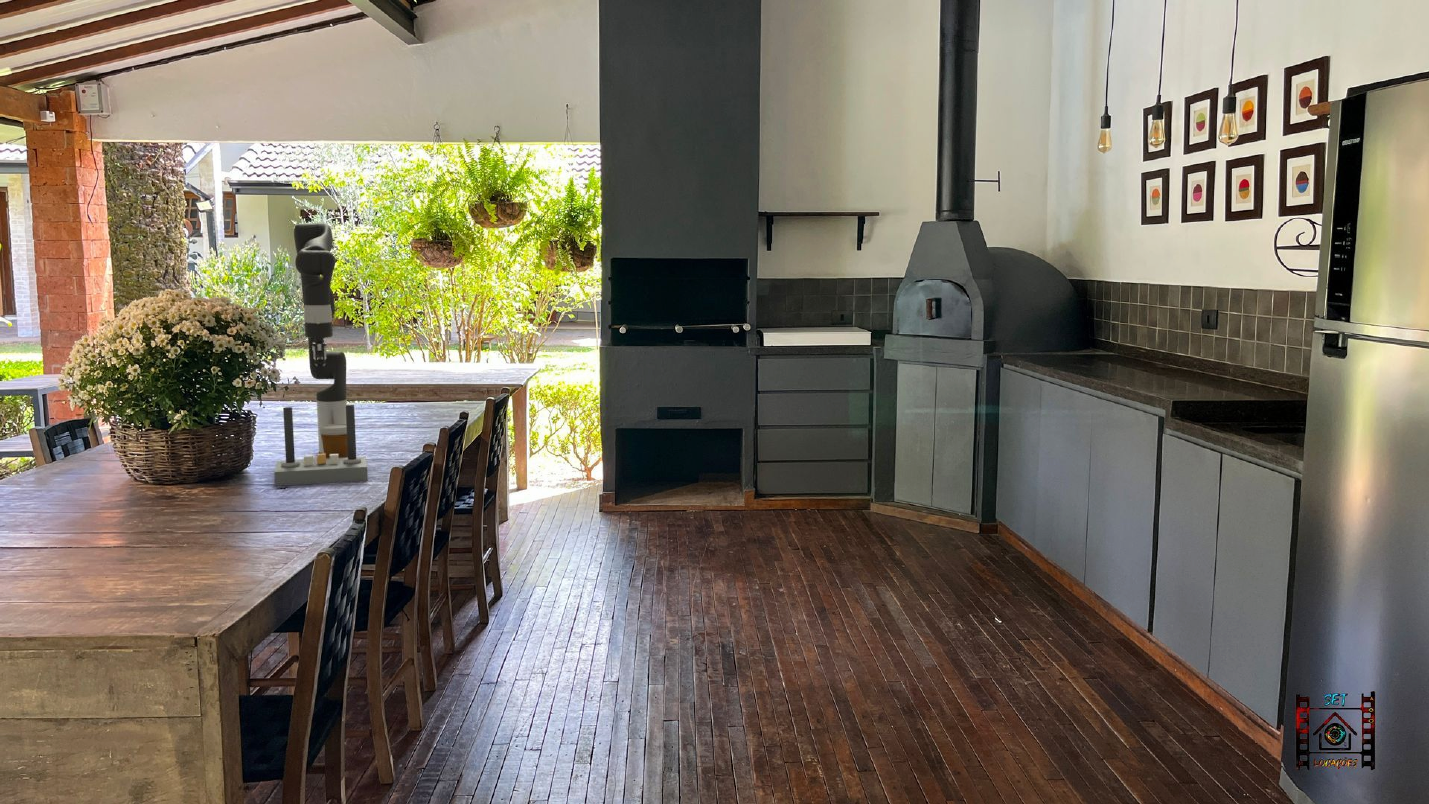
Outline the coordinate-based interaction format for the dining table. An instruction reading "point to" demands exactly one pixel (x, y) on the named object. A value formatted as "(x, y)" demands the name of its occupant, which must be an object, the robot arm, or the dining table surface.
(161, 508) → the dining table surface
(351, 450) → the cable post
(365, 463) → the panel
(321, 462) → the orange small block
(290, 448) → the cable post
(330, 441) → the disposable coffee cup
